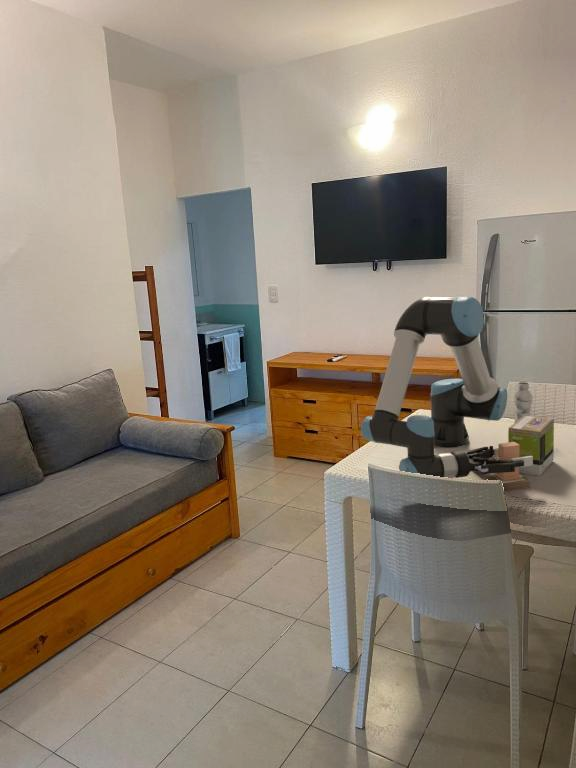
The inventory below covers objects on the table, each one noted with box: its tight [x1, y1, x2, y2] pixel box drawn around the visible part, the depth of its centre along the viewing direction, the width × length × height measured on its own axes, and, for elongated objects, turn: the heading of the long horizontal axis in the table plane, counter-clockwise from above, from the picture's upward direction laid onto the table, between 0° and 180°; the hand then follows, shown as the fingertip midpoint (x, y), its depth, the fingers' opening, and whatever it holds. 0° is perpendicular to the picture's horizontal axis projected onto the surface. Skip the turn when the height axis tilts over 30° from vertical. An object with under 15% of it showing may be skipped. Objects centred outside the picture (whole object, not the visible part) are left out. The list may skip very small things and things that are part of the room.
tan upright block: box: [495, 442, 523, 480], centre depth 172 cm, size 5×6×10 cm
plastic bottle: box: [513, 381, 533, 424], centre depth 213 cm, size 6×7×20 cm
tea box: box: [507, 415, 555, 477], centre depth 184 cm, size 15×10×15 cm, turn 141°
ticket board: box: [473, 457, 531, 492], centre depth 181 cm, size 24×9×2 cm, turn 11°
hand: (522, 455), depth 172 cm, fingers open, 8 cm apart
